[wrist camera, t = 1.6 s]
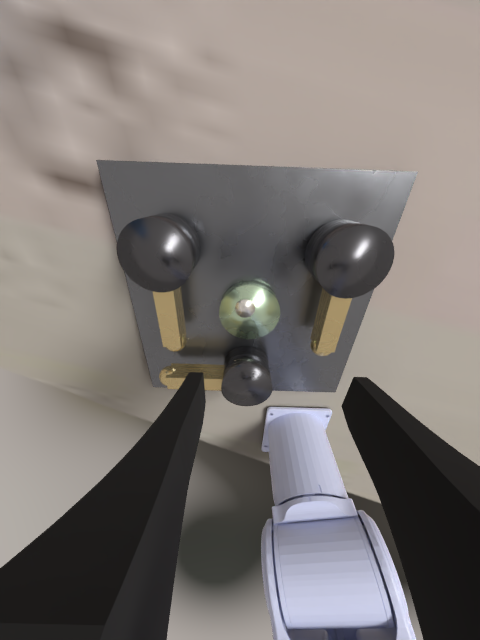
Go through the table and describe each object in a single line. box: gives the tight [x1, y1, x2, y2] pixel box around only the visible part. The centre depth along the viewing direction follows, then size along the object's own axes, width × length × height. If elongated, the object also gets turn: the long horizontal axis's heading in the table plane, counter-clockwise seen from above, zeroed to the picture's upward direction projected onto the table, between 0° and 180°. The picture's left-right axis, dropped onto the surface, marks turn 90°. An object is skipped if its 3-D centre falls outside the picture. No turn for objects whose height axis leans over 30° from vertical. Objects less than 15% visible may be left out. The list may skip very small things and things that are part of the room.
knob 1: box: [117, 213, 201, 352], centre depth 16 cm, size 10×4×3 cm, turn 178°
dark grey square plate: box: [96, 160, 418, 392], centre depth 18 cm, size 20×20×2 cm
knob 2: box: [159, 346, 272, 406], centre depth 20 cm, size 10×4×3 cm, turn 88°
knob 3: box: [305, 219, 394, 356], centre depth 16 cm, size 10×4×3 cm, turn 178°
